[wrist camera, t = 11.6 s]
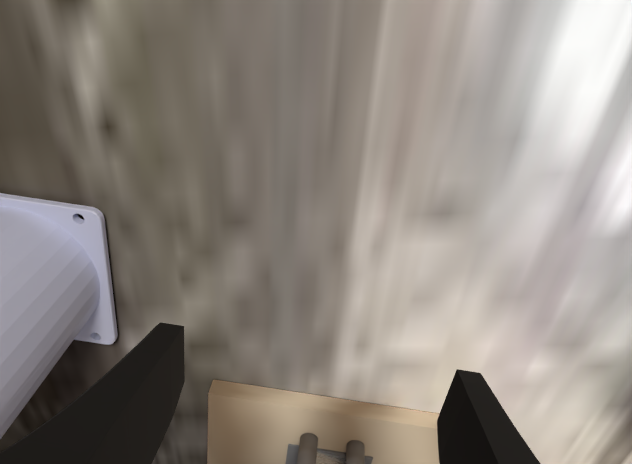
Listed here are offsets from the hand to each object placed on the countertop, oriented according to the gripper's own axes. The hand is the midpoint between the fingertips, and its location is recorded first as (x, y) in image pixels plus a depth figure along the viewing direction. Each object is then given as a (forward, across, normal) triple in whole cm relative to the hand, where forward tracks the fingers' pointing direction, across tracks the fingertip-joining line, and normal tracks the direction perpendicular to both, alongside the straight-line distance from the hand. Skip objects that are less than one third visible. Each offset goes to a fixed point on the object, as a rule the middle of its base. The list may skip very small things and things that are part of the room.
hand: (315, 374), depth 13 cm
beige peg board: (+9, -2, +19) cm, 21 cm away
